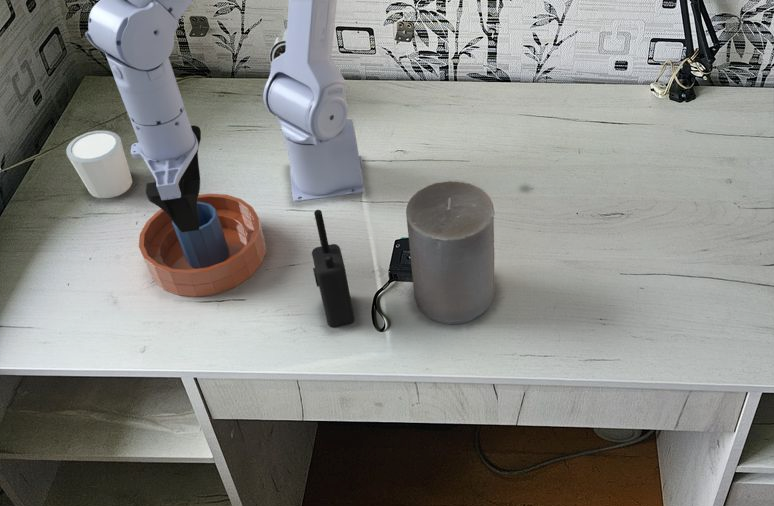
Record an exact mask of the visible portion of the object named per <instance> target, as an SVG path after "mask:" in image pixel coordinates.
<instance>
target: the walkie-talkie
mask: <svg viewBox="0 0 774 506" xmlns="http://www.w3.org/2000/svg"><path fill="white" fill-rule="evenodd" d="M313 214H314V219H315V224H316V229H317V232H318V233H317V234H318V237H319V241H320V246H316V247H314V248H313V249H312V251H311V257H312V261H313V265H314V267H313V268H312V270H313V275H314V279H315V284H316V287H317V288H318V289H319V292H320V297H321V302H322V306H323V309H324V314H325V318H326V323H327V326H328V327H330V328H331V329H334V328H340V327H344V326H348V325H352V324H353V323H355V319H356V317H355V313H354V309H353V303H352V297H351V293H350V287H349V282H348V278H347V272H346V266H345V263H344V258H343V255H342V250H341V247H340V246H339V245H338V244H336V243H331V244H329V239H328V235H327V232H326V231H327V229H326V226H325V220H324V216H323V212H322V210H321V209H316V210H314V212H313Z"/></svg>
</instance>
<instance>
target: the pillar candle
mask: <svg viewBox="0 0 774 506" xmlns="http://www.w3.org/2000/svg"><path fill="white" fill-rule="evenodd" d="M495 213H496V212H495V208H494V203H493V201H492V199H491V197H490V196H489V195H488V193H487V192H485V190H483V189H482V188H480V187H478V186H476V185H475V184H471V183H468V182H464V181H463V182H462V181H457V180H455V181H453V180H452V181H451V180H448V181H441V182H435V183H432V184H429V185H426V186H425V187H423V188H421V189H419V190H418V191H416V192H415V194H413V195H412V196H411V197H410V199H409V201H408V203H407V205H406V209H405V217H406V226H407V234H408V245H409V255H410V267H411V277H412V284H413V295H414V297H413V298H414V301H415V304H416V307H417V308H418V310H419V311H420V313H422V314H423V315H424V316H426V318H428V319H430V320H432V321H434V322H438V323H441V324H446V325H458V324H466V323H469V322H471V321H473V320H474V319H476V318H479V317H480V316H481V315H483V314H484V313H485V312H487V311H488V309H490V307H491V306H492V304H493V302H494V297H495V289H496V288H495Z"/></svg>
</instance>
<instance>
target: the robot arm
mask: <svg viewBox="0 0 774 506" xmlns="http://www.w3.org/2000/svg"><path fill="white" fill-rule="evenodd" d="M337 1H338V0H288V7H287V8H288V9H287V22H286V28H287V36H286V51H285V53H283V54H282V55H280V56H279V57H277V58H275V59H274V60H273V61H272V62H270V72H269V76H268V79H267V80H266V83H265V86H264V88H263V94H262V95H263V96H262V98H263V99H262V100H263V104H264V108H266V110H267V112H269V113H270V114H271V115H273V116H276V118H277V123H278V125H279V126H280V128H281V132H282V135H283V139H284V144H285V148H286V153H287V157H288V162H289V174H290V184H291V194H292V201H293V202H295V203H297V202H305V201H312V200H320V199H325V198H326V199H327V198H333V197H340V196H341V197H342V196H348V195H354V194H355V195H356V194H360V195H363V194H364V193H365V186H364V180H363V173H362V170H364V166H363V158H362V155H359V154H360V153H359V149H358V141H357V136H356V130H355V124H354V119H352V118H348V116H349V104H348V100H347V96H346V87H347V86H346V85H347V81H346V79H345V78H344V76H343V74H342V73H341V72H340V70H339V68H338V67H337V65H336V64H335V62H334V61H333V59H332V54H333V44H334V43H333V42H334V32H335V22H336V13H337V3H338V2H337ZM193 2H194V0H99V1H98V2H96V3H95V4H94V5H93V6H92V8H91V10H90V12H89V15H88V21H87V22H88V23H87V25H88V26H87V28H88V30H87V31H86V32H85V33H84V34H85V37H86V39H87V40H88V42H89V43H90V44H91V45H92V46H93V47H94V48H95V49H97V50H98V51H101V52H102V53H103V54H104V55H105V56H106V59H107V62H108V65H109V68H110V70H111V73H112V75H113V79H114V81H115V84H116V87H117V89H118V92H119V95H120V97H121V100H122V103H123V105H124V107H125V108H124V109H125V110H126V113H127V115H128V118H129V120H130V123H131V125H132V128H133V131H134V133H135V136H136V138H137V139H136V140H137V141H138V142H135V143H133V144H131V145H130V155H131V157H132V159H136V160H137V159H142V160H143V161H144V162H145V165H146V166H147V167H148V170H149V171H150V173H151V174H152V176H153V178H154V180H155V182H147V183H146V185H145V195H146V197H147V200H148V201H149V202H150V203H152V204H154V205H156V206H157V207H158V208H160V209H162V210H163V211H165V212H166V213H167V215H168V216H169V217H170V218H171V220H172V221H173V222H174V224H175V225H176V226H177V228H178V229H179V230H180V231H181V232H189V231H196V230H199V213H198V206H197V198H198V195H200V190H201V172H200V165H199V147H200V144H201V140H202V131H201V128H200V127H199V126H198V125H191V123H190V118H189V115H188V113H187V110H186V107H185V104H184V100H183V98H182V94H181V91H180V87H179V84H178V81H177V78H176V76H175V73H174V70H173V66H172V63H171V60H170V58H169V57H170V56H171V55H172V52H173V49H174V45H175V33H176V32H177V30H178V29H179V26H178V25H179V20H180V19H181V17H182V16H183V15H184V13H185V12H186V11H187V10H188V8H189V7H190V6H191V4H192V3H193Z"/></svg>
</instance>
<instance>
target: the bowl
mask: <svg viewBox="0 0 774 506" xmlns="http://www.w3.org/2000/svg"><path fill="white" fill-rule="evenodd" d="M197 202H204V203H208V204H211V205H212V206H213V207H214V208H215V209H216V211H217V215H218V218H219V221H220V224H221V227H222V230H223V233H224V236H225V239H226V242H227V245H228V248H229V256H228V258H227V259H226V260H225V261H224V262H221V263H218V264H216V265H213V266H210V267H206V268H200V269H196V268H192V267H191V266H190V265H189V264H188V263H187V261H186V258H185V255H184V253H183V250H182V248H181V245H180V242H179V240H178V237H177V235H176V232H175V229H174V227H173V224H172V220H171V218H170V217H169V216H168V215H167V213H166V212H165V211H163V210H162V209H161V208H160V209H158V210H157V211H156V212H155V213H154V214H153V215H152V216H151V217H150V218H149V219H148V220H147V221H146V222H145V223H144V226H143V228H142V229H141V231H140V233H139V237H138V238H139V239H138V248H139V251H140V253H141V255H142V258H143V260H144V262H145V265H146V267H147V270H148V271H149V274H150V276H151V278H152V280H153V282H154V283H155V284H157V286H159V287H160V288H161V289H162V290H163V291H166V292H169V293H172V294H175V295H177V296H180V297H181V296H183V297H194V298H195V297H198V298H200V297H205V296H206V297H207V296H214V295H218V294H221V293H223V292H226V291H229V290H231V289H234V288H236V287H238V286H239V285H241V284H243V283H244V282H245V281H247V280H248V279H250V278H251V277H252V276H253V274H255V273H256V272H257V270H258V269H259V268H260V267H262V266H261V265H262V262H263V260H264V258H265V256H266V254H267V253H266V252H267V247H266V239H265V235H264V232H263V229H262V225H261V220H260V218H259V215H258V214H257V212H256V210H255V209H254V207H253V206H252V205H250V204H249V203H247V202H246V201H245V200H243V199H241V198H240V197H236V196H233V195H229V194H224V193H223V194H222V193H205V194H199V195H198V198H197Z"/></svg>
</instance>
